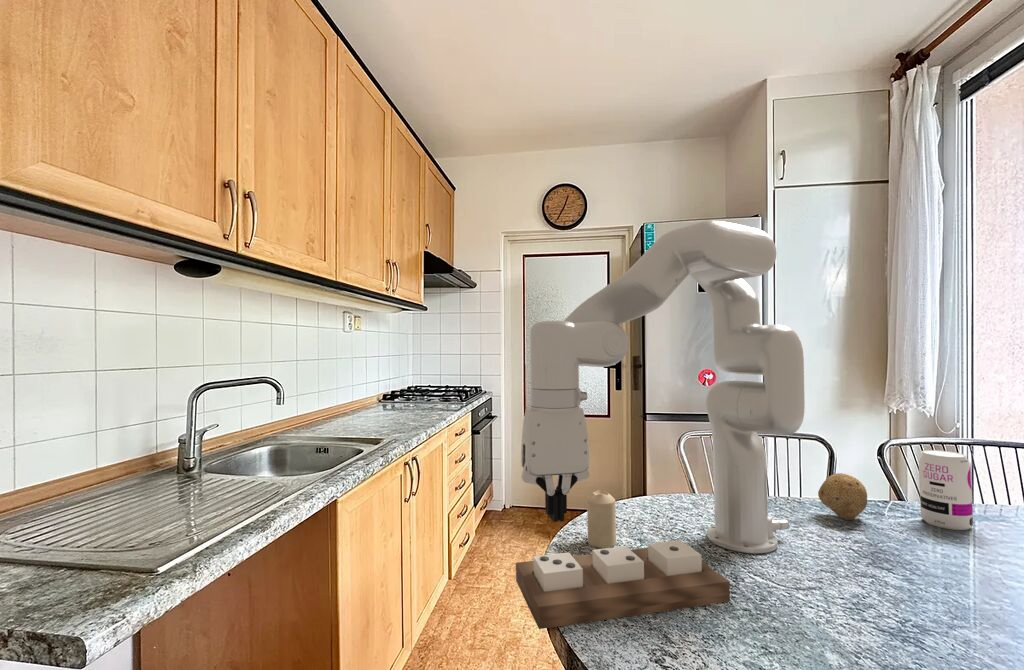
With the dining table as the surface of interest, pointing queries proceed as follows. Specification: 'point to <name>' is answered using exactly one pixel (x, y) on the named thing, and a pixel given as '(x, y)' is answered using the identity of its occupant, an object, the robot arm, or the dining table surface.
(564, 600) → the panel
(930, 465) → the supplement can
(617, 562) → the tile two
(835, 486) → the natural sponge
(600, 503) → the candle
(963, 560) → the dining table surface
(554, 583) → the tile three
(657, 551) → the tile one
